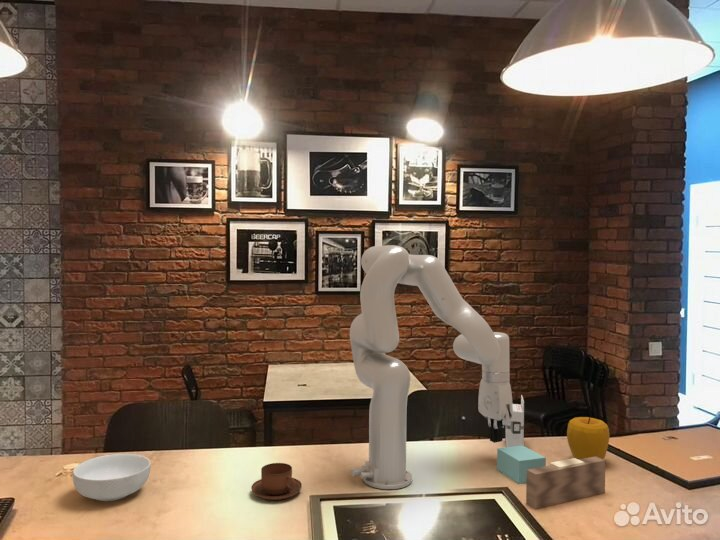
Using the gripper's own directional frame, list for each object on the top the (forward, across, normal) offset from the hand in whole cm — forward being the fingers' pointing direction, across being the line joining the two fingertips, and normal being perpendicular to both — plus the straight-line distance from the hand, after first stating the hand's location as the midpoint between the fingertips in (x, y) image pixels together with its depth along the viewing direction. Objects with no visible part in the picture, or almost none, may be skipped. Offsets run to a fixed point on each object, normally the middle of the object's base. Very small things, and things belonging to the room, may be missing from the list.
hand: (496, 441), depth 159 cm
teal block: (+6, +11, -1) cm, 12 cm away
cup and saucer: (+4, -4, -63) cm, 63 cm away
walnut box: (+6, +27, -1) cm, 28 cm away
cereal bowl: (+3, -19, -99) cm, 101 cm away
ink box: (+6, -8, +13) cm, 17 cm away
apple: (+6, +12, +22) cm, 26 cm away
